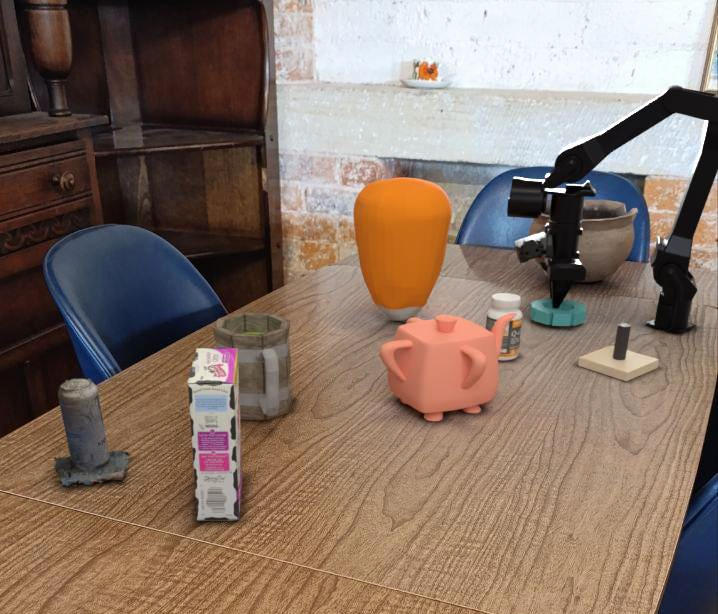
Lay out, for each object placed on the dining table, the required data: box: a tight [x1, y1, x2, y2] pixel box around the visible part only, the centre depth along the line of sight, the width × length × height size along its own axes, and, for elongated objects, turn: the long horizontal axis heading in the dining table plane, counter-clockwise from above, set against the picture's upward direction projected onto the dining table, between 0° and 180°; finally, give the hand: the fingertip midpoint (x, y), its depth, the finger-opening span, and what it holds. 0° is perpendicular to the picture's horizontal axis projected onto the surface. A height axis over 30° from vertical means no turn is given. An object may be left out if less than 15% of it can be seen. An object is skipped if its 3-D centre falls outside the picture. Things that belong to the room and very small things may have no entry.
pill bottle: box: [485, 292, 524, 362], centre depth 142 cm, size 6×6×10 cm
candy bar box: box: [187, 347, 243, 522], centre depth 97 cm, size 11×5×16 cm, turn 5°
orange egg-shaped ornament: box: [352, 177, 453, 322], centre depth 154 cm, size 17×17×25 cm
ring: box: [528, 297, 588, 327], centre depth 160 cm, size 10×10×2 cm
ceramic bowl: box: [527, 199, 639, 283], centre depth 185 cm, size 22×22×15 cm
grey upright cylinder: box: [53, 377, 131, 488], centre depth 103 cm, size 9×8×12 cm
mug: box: [212, 312, 293, 421], centre depth 120 cm, size 16×11×12 cm
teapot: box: [378, 313, 517, 422], centre depth 123 cm, size 17×16×13 cm
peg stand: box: [577, 322, 660, 382], centre depth 139 cm, size 9×9×7 cm
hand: (554, 306), depth 163 cm, fingers closed on ring, 2 cm apart
